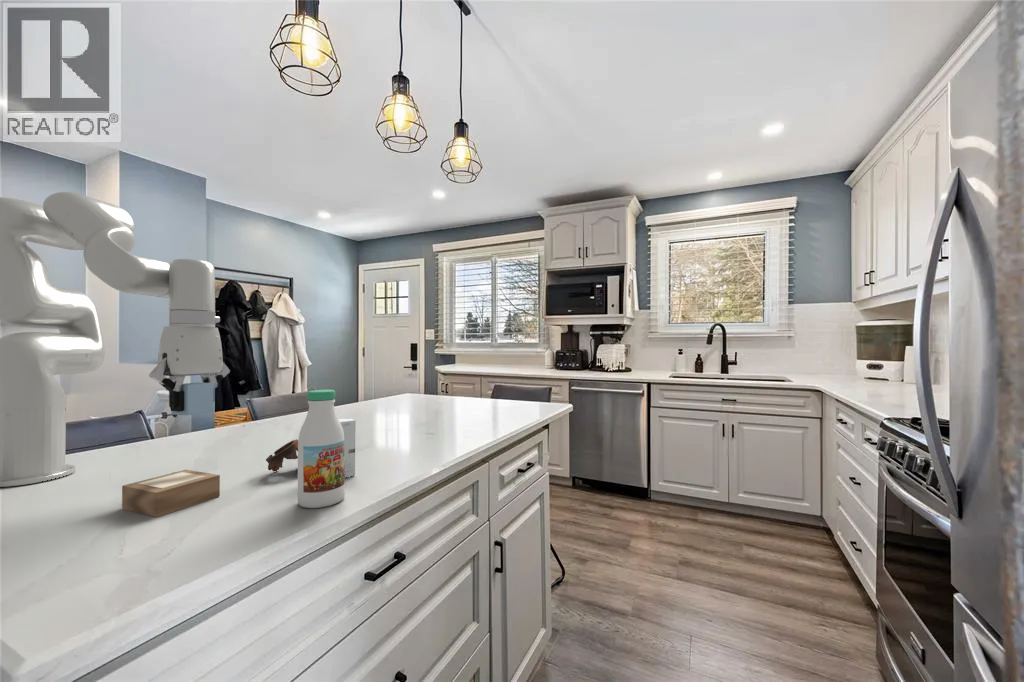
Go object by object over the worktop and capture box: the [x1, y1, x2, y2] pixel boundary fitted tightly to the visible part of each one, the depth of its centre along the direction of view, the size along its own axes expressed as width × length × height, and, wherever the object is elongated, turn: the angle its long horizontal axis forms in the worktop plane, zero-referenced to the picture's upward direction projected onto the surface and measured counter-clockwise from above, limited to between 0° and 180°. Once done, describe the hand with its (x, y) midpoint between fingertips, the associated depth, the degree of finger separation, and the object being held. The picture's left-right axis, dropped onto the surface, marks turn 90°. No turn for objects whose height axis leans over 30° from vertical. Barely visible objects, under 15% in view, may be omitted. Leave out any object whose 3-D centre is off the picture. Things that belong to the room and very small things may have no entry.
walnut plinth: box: [121, 469, 221, 518], centre depth 74 cm, size 10×10×4 cm
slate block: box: [170, 381, 215, 416], centre depth 84 cm, size 5×5×6 cm
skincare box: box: [338, 417, 356, 478], centre depth 88 cm, size 6×4×12 cm
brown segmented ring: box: [265, 438, 298, 472], centre depth 93 cm, size 12×9×8 cm
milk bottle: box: [297, 389, 346, 509], centre depth 74 cm, size 8×8×20 cm
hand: (192, 408), depth 84 cm, fingers closed on slate block, 5 cm apart
